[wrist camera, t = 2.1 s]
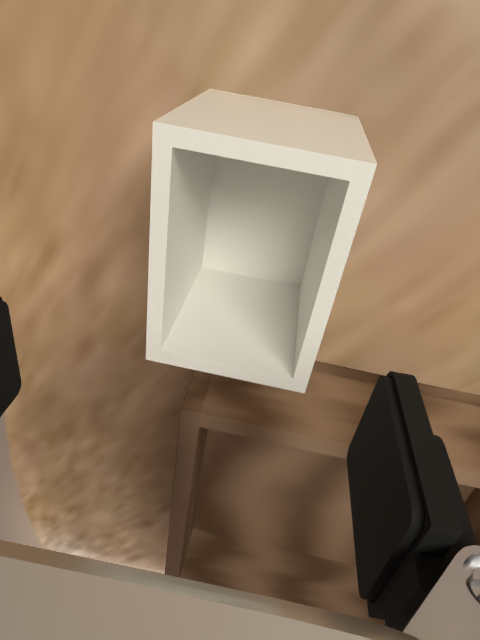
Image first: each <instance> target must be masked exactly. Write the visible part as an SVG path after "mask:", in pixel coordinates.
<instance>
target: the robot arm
mask: <svg viewBox="0 0 480 640" xmlns="http://www.w3.org/2000/svg"><path fill="white" fill-rule="evenodd" d="M20 388H21V377H20V371H19V366H18V360H17V354H16V348H15V343H14V337H13V331H12V326H11V320H10V314H9V308H8V305H7V303H6V302H4V301H2V298H1V297H0V417H1V415H2V414H3V413H4V411H5V410H6V409H7V408H8V406H9V405H10V404H11V403H12V401H13V400H14V399H15V398H16V396H17V395H18V393H19V391H20ZM347 470H348V481H349V492H350V502H351V513H352V524H353V535H354V546H355V557H356V568H357V579H358V590H359V595H360V598H361V599H364V600H367V606H368V615H369V617H372V618H377V619H381V620H385V625H386V626H385V625H381V624H378V623H374V622H371V621H367V620H364V619H360V618H357V617H353V616H350V615H346V614H341V613H337V612H333V611H328V610H324V609H320V608H316V607H311V606H307V605H303V604H298V603H294V602H290V601H285V600H281V599H277V598H273V597H268V596H263V595H259V594H254V593H249V592H245V591H240V590H235V589H231V588H226V587H221V586H217V585H212V584H207V583H203V582H198V581H193V580H189V579H184V578H179V577H175V576H170V575H165V574H161V573H156V572H151V571H146V570H141V569H137V568H132V567H127V566H122V565H118V564H113V563H108V562H103V561H99V560H94V559H89V558H84V557H80V556H75V555H70V554H65V553H60V552H56V551H51V550H46V549H41V548H36V547H31V546H26V545H22V544H17V543H12V542H7V541H2V540H0V640H480V546H478V544H477V541H476V538H475V535H474V532H473V529H472V526H471V523H470V519H469V516H468V513H467V510H466V507H465V504H464V501H463V498H462V495H461V492H460V489H459V486H458V483H457V480H456V477H455V474H454V471H453V468H452V465H451V462H450V459H449V456H448V453H447V450H446V447H445V444H444V442H443V440H442V438H440V437H439V436H437V435H434V434H433V431H432V428H431V425H430V422H429V418H428V415H427V412H426V409H425V406H424V402H423V399H422V396H421V393H420V389H419V386H418V383H417V380H416V378H415V376H413V375H408V374H403V373H398V372H392V371H391V372H389V373H388V374H387V376H380V377H379V378H378V380H377V383H376V385H375V387H374V390H373V392H372V394H371V397H370V399H369V401H368V404H367V406H366V408H365V411H364V413H363V415H362V418H361V420H360V422H359V424H358V427H357V429H356V431H355V434H354V436H353V438H352V441H351V443H350V445H349V448H348V452H347Z"/></svg>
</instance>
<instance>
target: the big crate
mask: <svg viewBox="0 0 480 640" xmlns="http://www.w3.org/2000/svg"><path fill="white" fill-rule="evenodd" d="M380 376H383V375H378V374H374V373H369V372H364V371H359V370H355V369H350V368H345V367H340V366H336V365H331V364H326V363H321V362H317V361H315V362H314V365H313V369H312V372H311V375H310V378H309V381H308V384H307V388H306V391H305V393H300V392H295V391H291V390H286V389H281V388H277V387H272V386H267V385H263V384H258V383H253V382H249V381H244V380H239V379H235V378H230V377H225V376H221V375H216V374H211V373H207V372H202V371H197V370H195V372H194V375H193V377H192V380H191V383H190V386H189V388H188V391H187V394H186V397H185V399H184V402H183V405H182V408H181V414H180V424H179V435H178V445H177V455H176V465H175V475H174V485H173V495H172V505H171V516H170V526H169V536H168V546H167V556H166V566H165V575H170V576H175V577H179V578H184V579H189V580H193V581H198V582H203V583H207V584H212V585H217V586H221V587H226V588H231V589H235V590H240V591H245V592H249V593H254V594H259V595H263V596H268V597H273V598H277V599H281V600H285V601H290V602H294V603H298V604H303V605H307V606H311V607H316V608H320V609H324V610H328V611H333V612H337V613H341V614H346V615H350V616H353V617H357V618H360V619H364V620H367V621H371V622H374V623H378V624H381V625H385V620H381V619H377V618H372V617H369V615H368V606H367V600H364V599H361V598H360V595H359V590H358V579H357V568H356V557H355V546H354V535H353V524H352V513H351V502H350V492H349V481H348V470H347V452H348V448H349V445H350V443H351V441H352V438H353V436H354V434H355V431H356V429H357V427H358V424H359V422H360V420H361V418H362V415H363V413H364V411H365V408H366V406H367V404H368V401H369V399H370V397H371V394H372V392H373V390H374V387H375V385H376V383H377V380H378V378H379V377H380ZM418 386H419V389H420V393H421V396H422V399H423V402H424V406H425V409H426V412H427V415H428V418H429V422H430V425H431V428H432V431H433V434H434V435H437V436H439V437H440V438H442V440H443V442H444V444H445V447H446V450H447V453H448V456H449V459H450V462H451V465H452V468H453V471H454V474H455V477H456V480H457V483H458V486H459V489H460V492H461V495H462V498H463V501H464V504H465V507H466V510H467V513H468V516H469V519H470V523H471V526H472V529H473V532H474V535H475V538H476V541H477V544H478V546H480V396H478V395H473V394H468V393H464V392H459V391H454V390H449V389H445V388H440V387H435V386H430V385H426V384H421V383H418ZM385 626H386V625H385Z"/></svg>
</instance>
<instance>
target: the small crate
mask: <svg viewBox="0 0 480 640" xmlns="http://www.w3.org/2000/svg"><path fill="white" fill-rule="evenodd" d="M376 166H377V163H376V160H375V158H374V155H373V153H372V150H371V148H370V145H369V143H368V140H367V138H366V135H365V133H364V130H363V128H362V125H361V123H360V120H359V118H358V116H356V115H351V114H345V113H340V112H334V111H329V110H324V109H318V108H313V107H307V106H302V105H297V104H291V103H286V102H281V101H275V100H270V99H264V98H259V97H254V96H248V95H243V94H238V93H232V92H227V91H221V90H216V89H211V88H210V89H208V90H207V91H205V92H203V93H201V94H200V95H198V96H196V97H195V98H193V99H191V100H189V101H188V102H186V103H184V104H182V105H181V106H179V107H177V108H176V109H174V110H172V111H170V112H169V113H167V114H165V115H163V116H162V117H160V118H158V119H157V120H155V121H153V141H152V173H151V205H150V237H149V270H148V302H147V334H146V360H150V361H155V362H160V363H164V364H169V365H174V366H179V367H183V368H188V369H193V370H197V371H202V372H207V373H211V374H216V375H221V376H225V377H230V378H235V379H239V380H244V381H249V382H253V383H258V384H263V385H267V386H272V387H277V388H281V389H286V390H291V391H295V392H300V393H305V391H306V388H307V384H308V381H309V378H310V375H311V372H312V369H313V365H314V362H315V359H316V356H317V353H318V350H319V346H320V343H321V340H322V337H323V334H324V331H325V327H326V324H327V321H328V318H329V315H330V312H331V308H332V305H333V302H334V299H335V296H336V293H337V289H338V286H339V283H340V280H341V277H342V273H343V270H344V267H345V264H346V261H347V258H348V254H349V251H350V248H351V245H352V242H353V239H354V235H355V232H356V229H357V226H358V223H359V220H360V216H361V213H362V210H363V207H364V204H365V201H366V197H367V194H368V191H369V188H370V185H371V182H372V178H373V175H374V172H375V169H376Z"/></svg>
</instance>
